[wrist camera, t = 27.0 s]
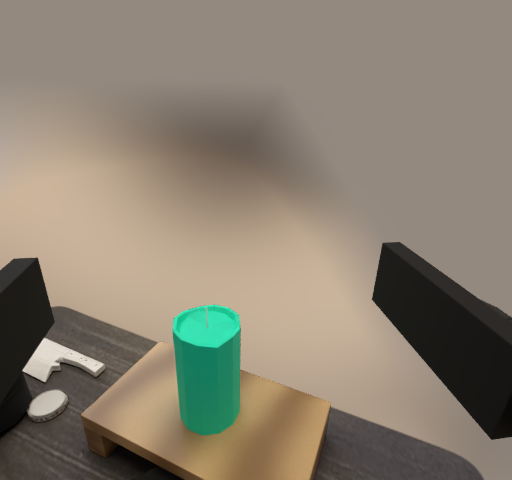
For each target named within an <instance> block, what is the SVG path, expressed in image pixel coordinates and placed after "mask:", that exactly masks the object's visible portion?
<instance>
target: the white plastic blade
mask: <svg viewBox="0 0 512 480" xmlns="http://www.w3.org/2000/svg"><path fill="white" fill-rule="evenodd" d="M61 362H64V363H68V364H71V365H74V366H77V367H80V368H82V369H83V370H85V371H87V372H88V373H90V374H91V375H93V376H94V377H97V376H98V375H99V374H100V373H101V372H102V371H104V370H105V369H106V367H105V364H103V363H101V362H98V361H96V360H94V359H91V358H89V357H86V356H84V355H82V354H80V353H77V352H75V351H73V350H71V349H69V348H66V347H63V346H61V345H60V344H58V343H57V344H56V342H55V343H54V342H52V341H51V340H50V341H49V339H48V340H47V338H46V339H45V338H44V339H43V340H42V342H41V343H40V345H39V346H38V348H37V349H36V351H35V352H34V354H33V355H32V357H31V358H30V360H29V361H28V363H27V364H26V366H25V367H24V369H23V370H22V371H23V372H25V373H27V374H29V375H31V376H33V377H35V378H37V379H39V380H41V381H43V382H46V381H47V379H48V378H49V376H50V374H51V373H52V371H59V370H61V368H60V364H59V363H61Z"/></svg>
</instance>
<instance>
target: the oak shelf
mask: <svg viewBox="0 0 512 480" xmlns="http://www.w3.org/2000/svg"><path fill="white" fill-rule="evenodd" d="M330 407H331V402H329V401H326V400H323V399H320V398H317V397H315V396H312V395H309V394H306V393H303V392H301V391H298V390H295V389H292V388H290V387H287V386H284V385H281V384H279V383H276V382H273V381H270V380H268V379H265V378H262V377H259V376H256V375H254V374H251V373H248V372H246V371H243V370H240V411H239V413H238V415H237V417H236V419H235V421H234V424H233V425H231V426H230V427H228V428H227V429H225V430H224V431H222V432H221V433H219V434H211V435H200V434H198V433H195V432H193V431H190V430H188V429H187V427H186V426H185V424H184V423H183V421H182V420H181V418H180V407H179V396H178V385H177V374H176V363H175V351H174V345H171V344H168V343H165V342H163V341H160V342H159V343H158V344H156V345H155V346H154V347H153V348H152V349H151V350H150V351H149V352H148V353H147V354H146V355H145V356H144V357H143V358H141V359H140V360H139V361H138V362H137V363H136V364H135V365H134V366H133V367H132V368H131V369H130V370H129V371H127V372H126V373H125V374H124V375H123V376H122V377H121V378H120V379H119V380H118V381H117V382H116V383H115V384H113V385H112V386H111V387H110V388H109V389H108V390H107V391H106V392H105V393H104V394H103V395H102V396H101V397H100V398H98V399H97V400H96V401H95V402H94V403H93V404H92V405H91V406H90V407H89V408H88V409H87V410H86V411H84V412H83V413H82V414H81V418H82V422H83V426H84V430H85V434H86V438H87V442H88V445H89V449H90V450H92V451H94V452H95V453H97V454H99V455H101V456H102V457H104V458H107V457H108V456H109V455H110V454H111V453H112V452H113V451H114V449H115V448H116V447H117V446H118V445H121V446H123V447H125V448H126V449H128V450H130V451H132V452H134V453H136V454H138V455H139V456H141V457H143V458H145V459H147V460H149V461H151V462H153V463H154V464H156V465H158V466H160V467H162V468H164V469H166V470H168V471H169V472H171V473H173V474H175V475H177V476H179V477H181V478H182V479H184V480H314V479H315V475H316V471H317V467H318V463H319V460H320V456H321V452H322V448H323V445H324V441H325V437H326V432H327V426H328V419H329V413H330Z"/></svg>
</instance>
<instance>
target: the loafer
mask: <svg viewBox="0 0 512 480" xmlns="http://www.w3.org/2000/svg"><path fill="white" fill-rule="evenodd" d="M31 401H32V396H31V394H30V392H29V389H28V386H27V383H26V380H25V377H24V375H23V372H21V373H20V375H19V376H18V378H17V379H16V381H15V382H14V384H13V386H12V387H11V389H10V390H9V392H8V393H7V395H6V396H5V398H4V399H3V401H2V402H1V404H0V433H1V432H3V431H4V430H5V429H8V428H10V427H12V426H13V425H14V424H15V423H16V422H17V421H19V420H20V418H21V417H22V416H23V415H24V414H25V412H26V411H27V408H29V404H30V402H31Z"/></svg>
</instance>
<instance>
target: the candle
mask: <svg viewBox="0 0 512 480" xmlns="http://www.w3.org/2000/svg"><path fill="white" fill-rule="evenodd" d="M240 331H241V328H240V321H239V315H238V314H237V313H235V312H234V311H233V310H231V309H230V308H227V307H223V306H219V305H208V306H200V307H196V308H192V309H189V310H186V311H183V312H182V313H180V314H179V315H178V316H176V317H175V318H174V322H173V340H174V351H175V363H176V374H177V385H178V396H179V407H180V418H181V420H182V421H183V423H184V424H185V426H186V427H187V429H188V430H190V431H193V432H195V433H198V434H200V435H211V434H219V433H221V432H222V431H224V430H225V429H227V428H228V427H230V426H231V425H233V424H234V421H235V419H236V417H237V415H238V413H239V411H240Z"/></svg>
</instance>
